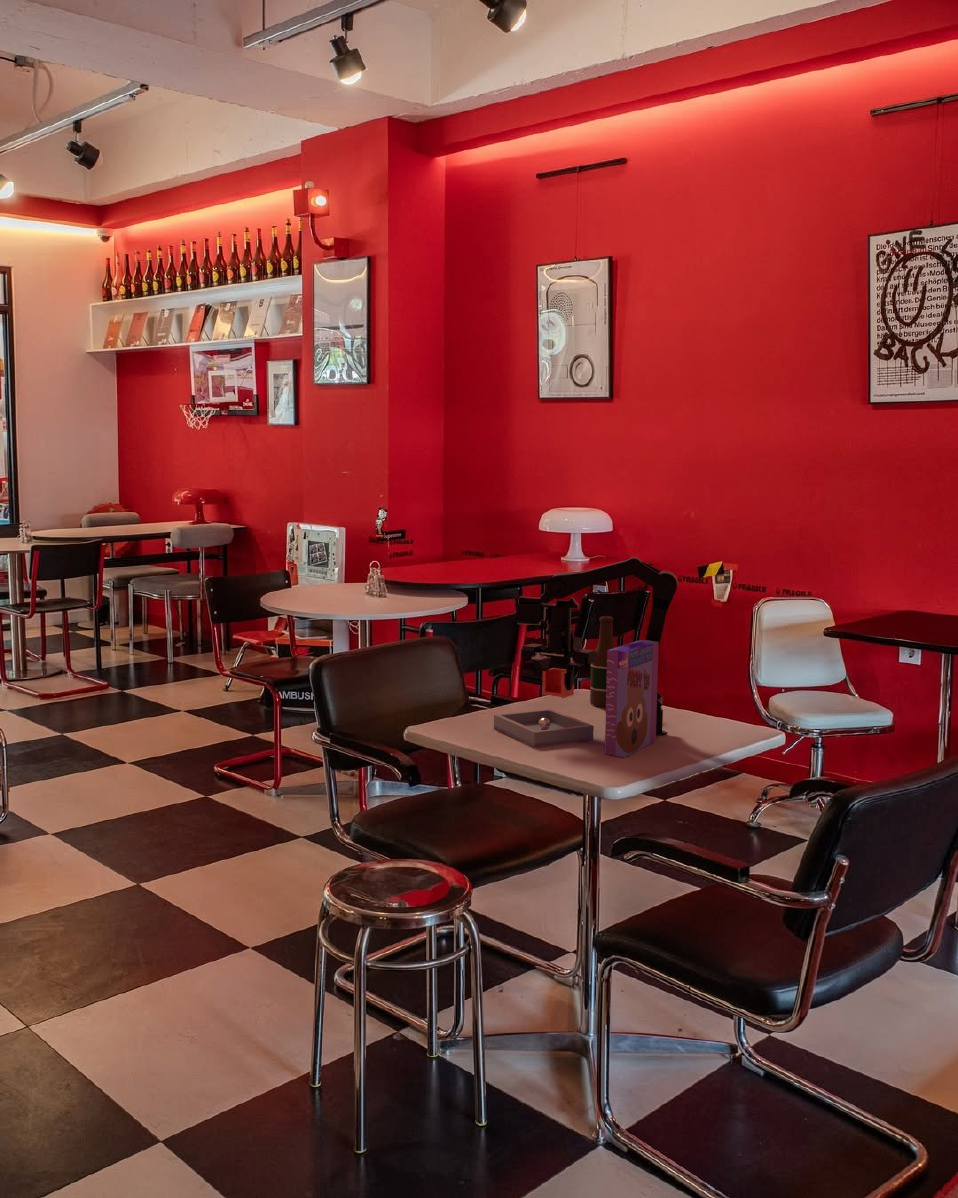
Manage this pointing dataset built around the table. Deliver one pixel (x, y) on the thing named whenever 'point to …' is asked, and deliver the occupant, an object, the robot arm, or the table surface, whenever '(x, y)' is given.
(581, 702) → the table surface
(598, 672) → the beer bottle
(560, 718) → the slate tray
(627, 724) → the cereal box
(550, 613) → the robot arm
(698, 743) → the table surface
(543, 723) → the steel ball
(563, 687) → the red arch stool
